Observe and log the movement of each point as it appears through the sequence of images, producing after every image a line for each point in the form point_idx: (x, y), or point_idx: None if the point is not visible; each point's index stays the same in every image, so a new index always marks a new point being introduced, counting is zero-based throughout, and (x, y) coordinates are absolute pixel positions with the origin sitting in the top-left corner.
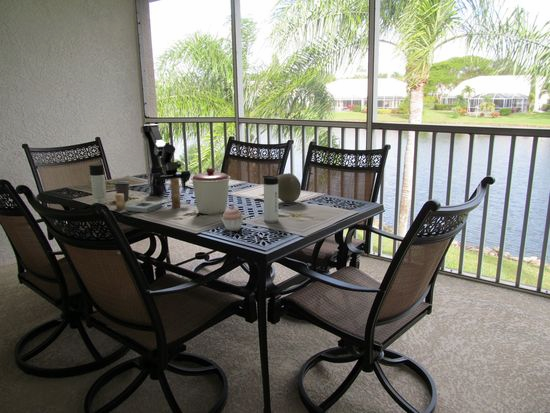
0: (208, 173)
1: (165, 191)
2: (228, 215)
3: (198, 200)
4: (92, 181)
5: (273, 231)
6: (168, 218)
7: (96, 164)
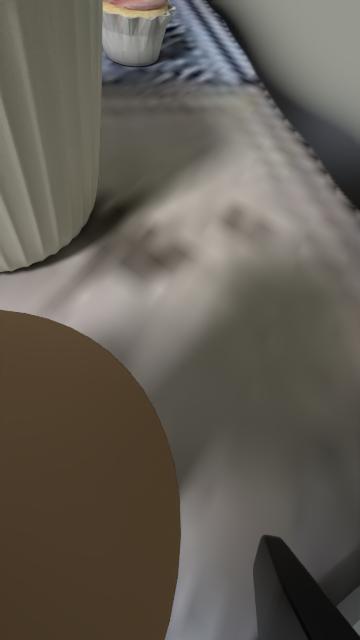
0: None
1: (284, 557)
2: None
3: (99, 119)
4: None
5: None
6: (293, 262)
7: None
